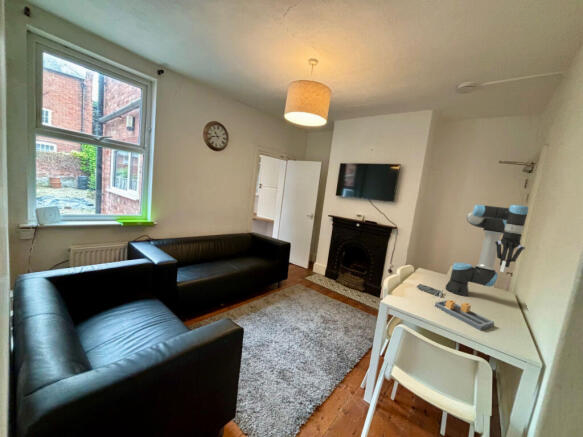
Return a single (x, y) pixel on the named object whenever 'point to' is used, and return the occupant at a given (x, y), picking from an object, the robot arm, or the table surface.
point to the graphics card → (430, 290)
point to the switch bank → (466, 316)
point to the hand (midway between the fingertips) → (502, 271)
